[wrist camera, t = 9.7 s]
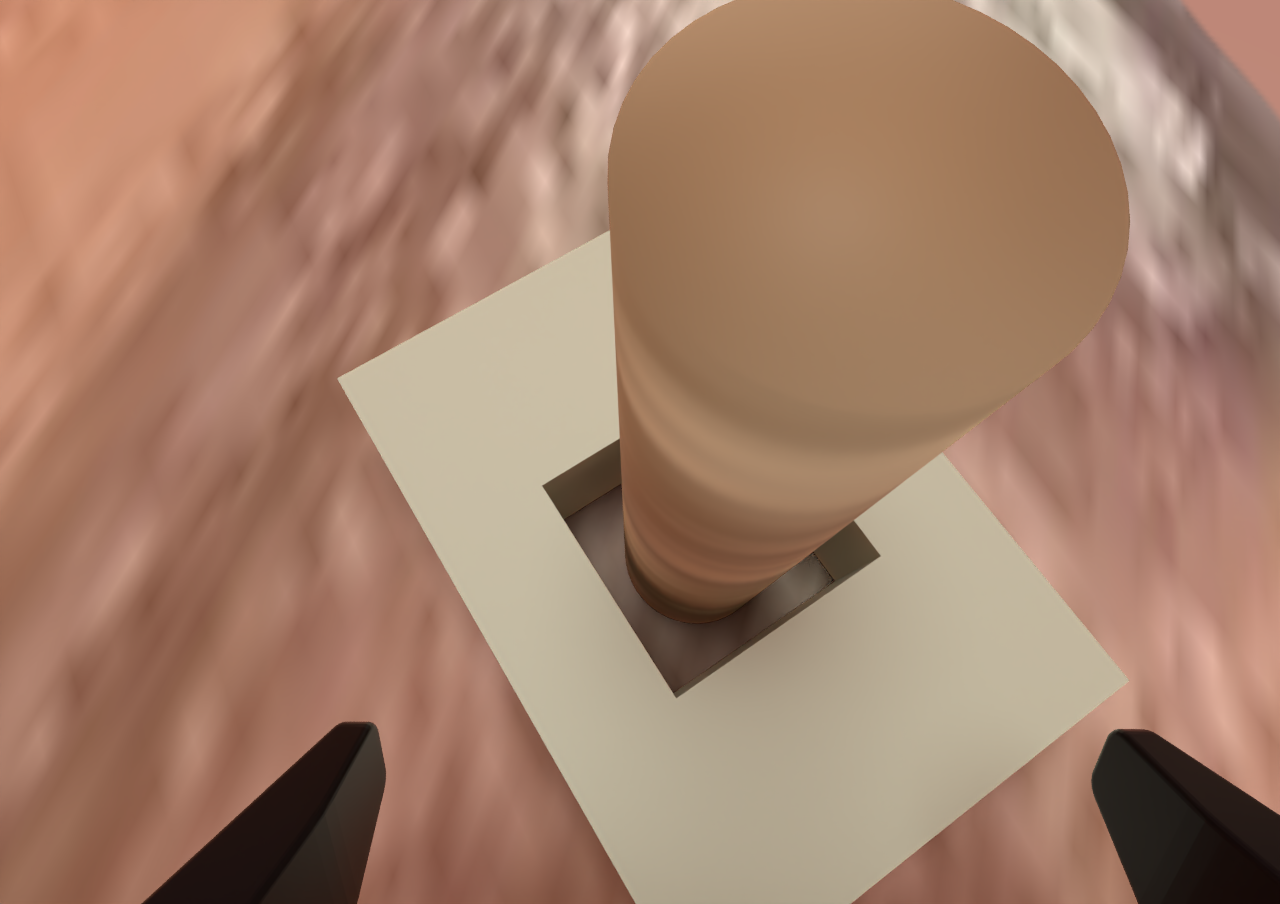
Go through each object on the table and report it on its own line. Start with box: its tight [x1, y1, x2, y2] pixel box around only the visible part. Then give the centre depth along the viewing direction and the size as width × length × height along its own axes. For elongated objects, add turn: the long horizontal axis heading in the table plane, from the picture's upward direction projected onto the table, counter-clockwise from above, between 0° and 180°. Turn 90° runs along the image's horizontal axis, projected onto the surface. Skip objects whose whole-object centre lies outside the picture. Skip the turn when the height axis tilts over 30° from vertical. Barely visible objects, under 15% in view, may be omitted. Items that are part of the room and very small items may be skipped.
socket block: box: [337, 230, 1129, 904], centre depth 17 cm, size 14×10×4 cm
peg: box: [608, 0, 1130, 623], centre depth 12 cm, size 4×4×14 cm
